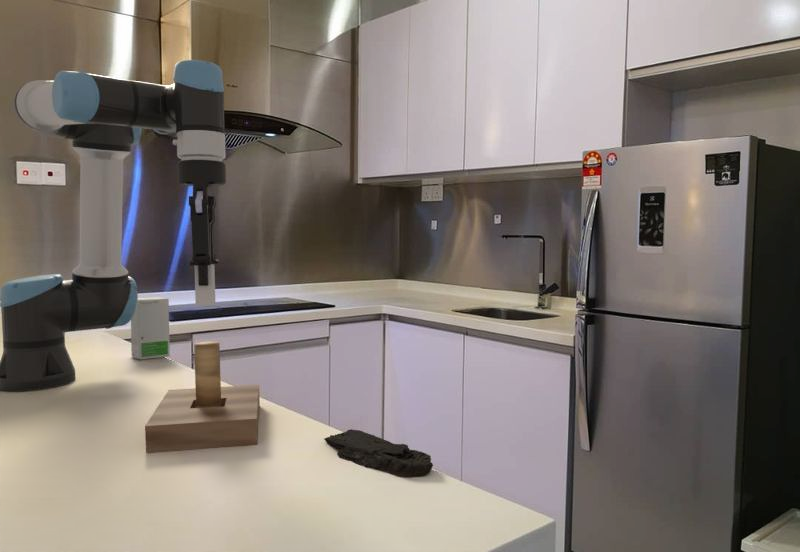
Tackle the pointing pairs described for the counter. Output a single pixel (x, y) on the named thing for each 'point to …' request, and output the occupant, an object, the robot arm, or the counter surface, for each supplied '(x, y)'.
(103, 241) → the robot arm
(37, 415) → the counter surface
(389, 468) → the black flat rough slab
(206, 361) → the oak dowel
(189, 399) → the seat board
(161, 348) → the skincare box
